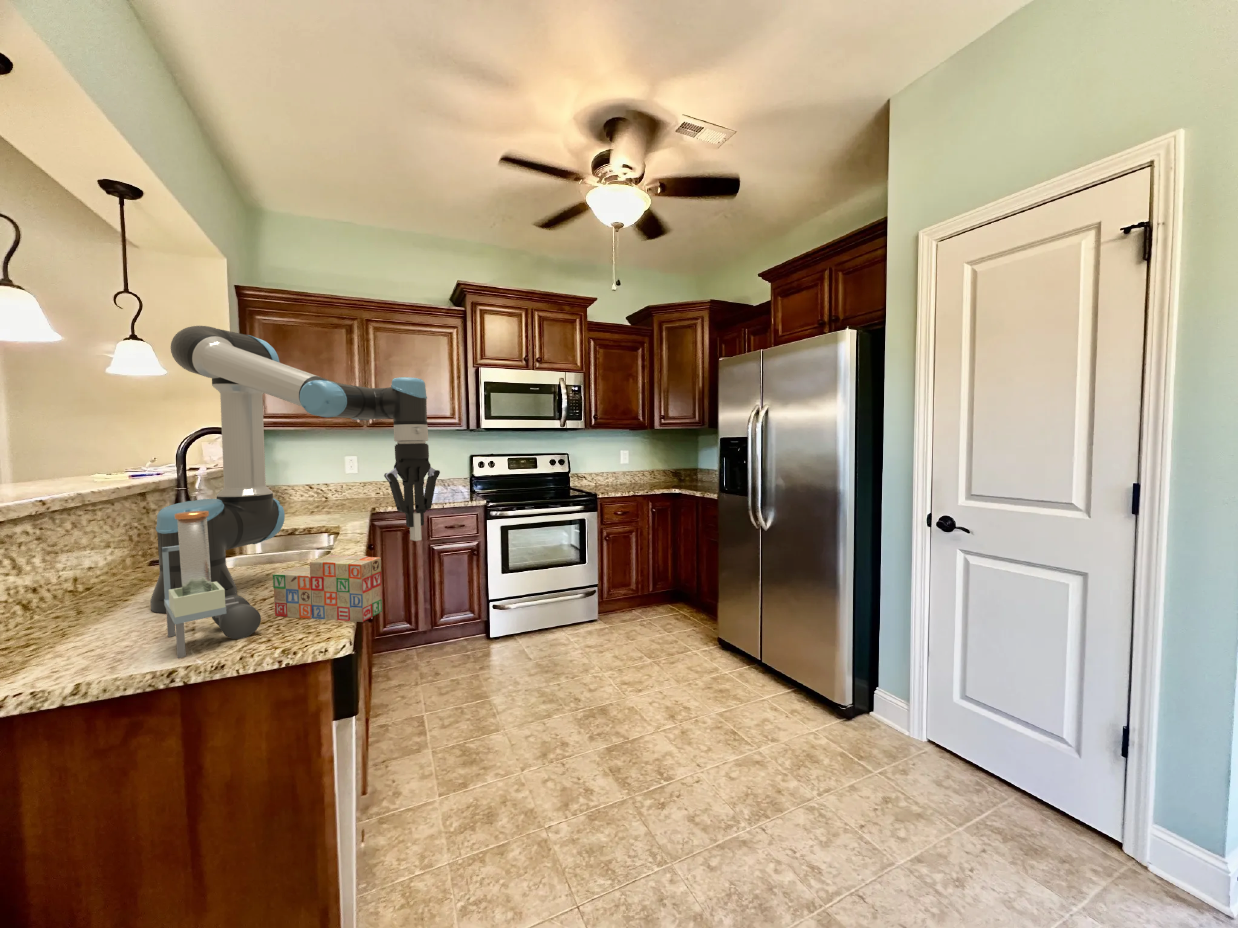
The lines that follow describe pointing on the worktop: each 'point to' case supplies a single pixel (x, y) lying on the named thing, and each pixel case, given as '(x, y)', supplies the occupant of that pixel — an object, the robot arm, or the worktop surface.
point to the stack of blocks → (330, 589)
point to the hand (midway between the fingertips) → (415, 539)
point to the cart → (210, 613)
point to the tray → (196, 601)
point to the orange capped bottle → (194, 552)
